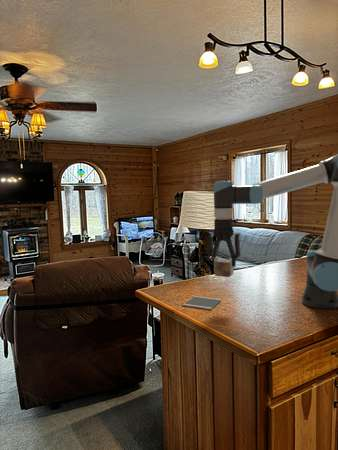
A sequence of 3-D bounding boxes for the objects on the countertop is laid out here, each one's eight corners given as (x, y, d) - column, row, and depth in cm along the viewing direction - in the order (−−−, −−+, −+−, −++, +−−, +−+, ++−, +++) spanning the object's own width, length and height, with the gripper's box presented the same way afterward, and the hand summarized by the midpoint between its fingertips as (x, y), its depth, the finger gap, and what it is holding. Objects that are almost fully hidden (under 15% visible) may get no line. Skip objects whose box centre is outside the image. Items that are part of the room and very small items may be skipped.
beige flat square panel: (237, 305, 145) (237, 304, 145) (231, 312, 137) (231, 311, 137) (217, 302, 149) (217, 302, 149) (210, 309, 141) (210, 308, 141)
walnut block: (233, 273, 143) (232, 259, 143) (228, 277, 138) (228, 262, 137) (219, 272, 146) (219, 259, 145) (214, 275, 141) (214, 261, 140)
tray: (221, 301, 150) (221, 299, 150) (210, 311, 139) (210, 308, 139) (194, 298, 156) (194, 296, 156) (182, 306, 145) (182, 304, 145)
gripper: (248, 218, 138) (248, 273, 141) (205, 217, 147) (206, 269, 149) (243, 219, 132) (243, 277, 134) (198, 218, 141) (199, 273, 143)
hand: (223, 273), depth 142 cm, fingers closed on walnut block, 6 cm apart
